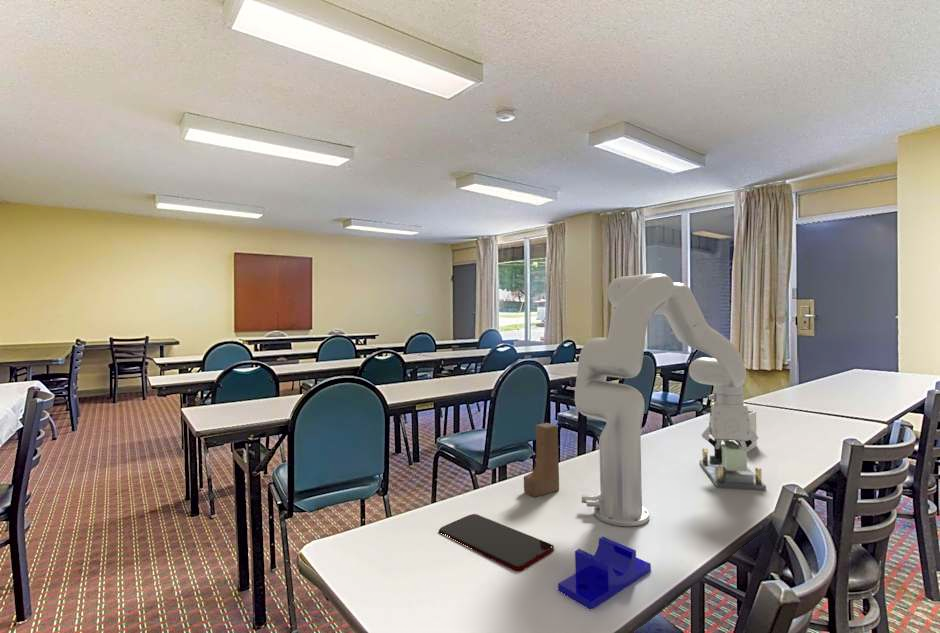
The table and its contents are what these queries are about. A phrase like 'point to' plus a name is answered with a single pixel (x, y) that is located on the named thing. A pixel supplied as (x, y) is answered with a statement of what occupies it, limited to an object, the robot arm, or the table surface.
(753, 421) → the staircase
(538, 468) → the wooden block
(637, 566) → the mounting bracket
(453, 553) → the table surface
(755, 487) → the chassis
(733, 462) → the pale green block
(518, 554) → the smartphone
